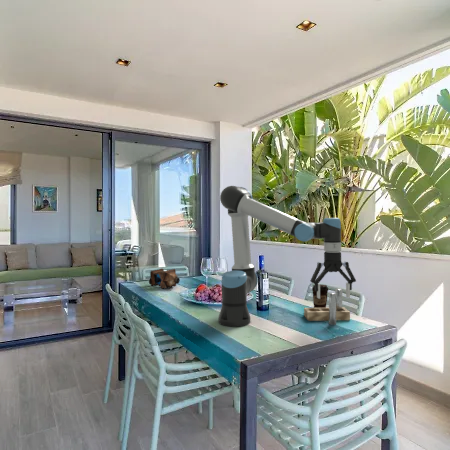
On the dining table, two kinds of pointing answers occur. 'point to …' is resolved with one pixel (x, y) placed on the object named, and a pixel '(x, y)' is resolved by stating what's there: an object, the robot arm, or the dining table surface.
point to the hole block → (325, 314)
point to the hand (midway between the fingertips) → (333, 297)
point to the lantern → (163, 278)
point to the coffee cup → (323, 296)
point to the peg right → (338, 299)
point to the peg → (332, 308)
